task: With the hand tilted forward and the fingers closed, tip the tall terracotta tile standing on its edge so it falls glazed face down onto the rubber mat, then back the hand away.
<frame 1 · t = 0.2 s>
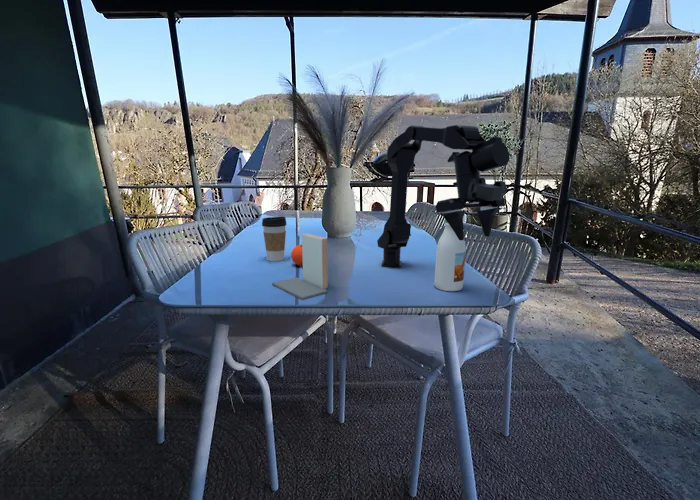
hand: (474, 238, 90), 16 cm above the table, tool pointing down, fingers open, 9 cm apart
tile: (315, 284, 103), on the table
coffee cup: (275, 259, 129), on the table
clementine: (301, 265, 122), on the table
milk bottle: (448, 288, 101), on the table
mat: (298, 288, 99), on the table
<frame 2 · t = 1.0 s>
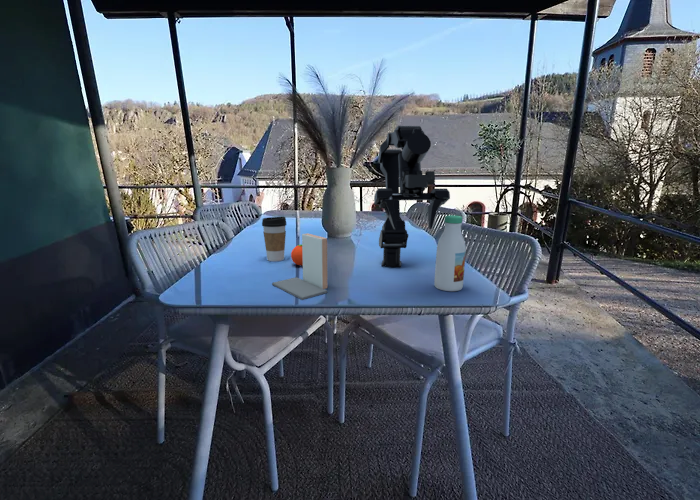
hand: (412, 229, 92), 17 cm above the table, tool tilted 25°, fingers open, 9 cm apart
nothing on the table moved.
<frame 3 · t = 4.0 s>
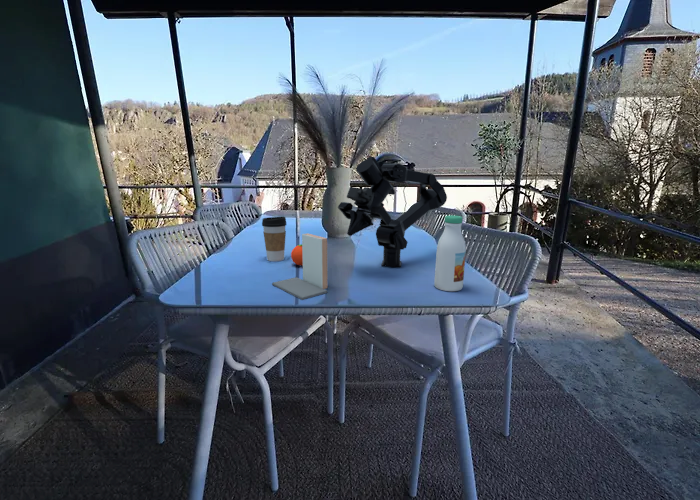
hand: (348, 235, 108), 13 cm above the table, tool tilted 45°, fingers closed
nothing on the table moved.
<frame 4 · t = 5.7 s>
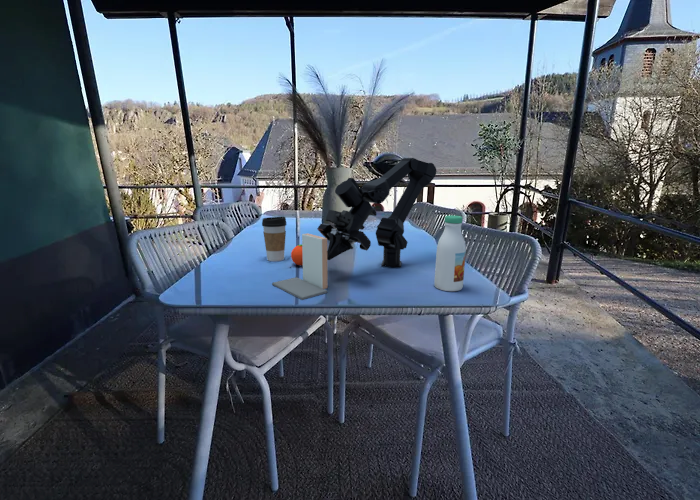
hand: (327, 259, 104), 7 cm above the table, tool tilted 45°, fingers closed
nothing on the table moved.
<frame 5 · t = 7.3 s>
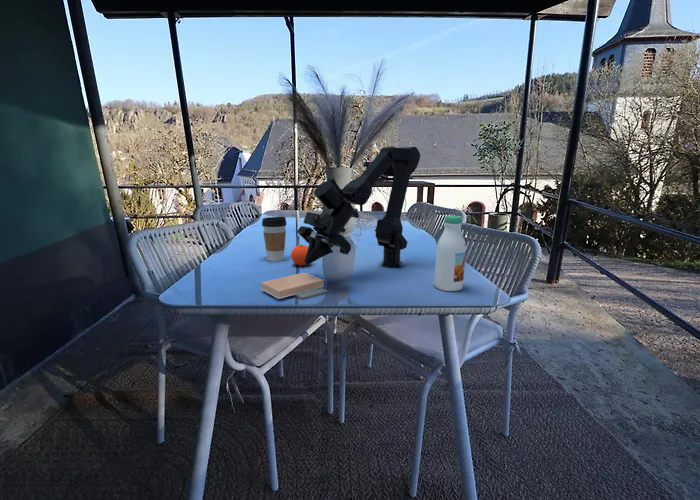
hand: (305, 263, 99), 7 cm above the table, tool tilted 45°, fingers closed
tile: (314, 279, 102), point 2 cm above the table, tilted 90°, touching mat
everything else where it was.
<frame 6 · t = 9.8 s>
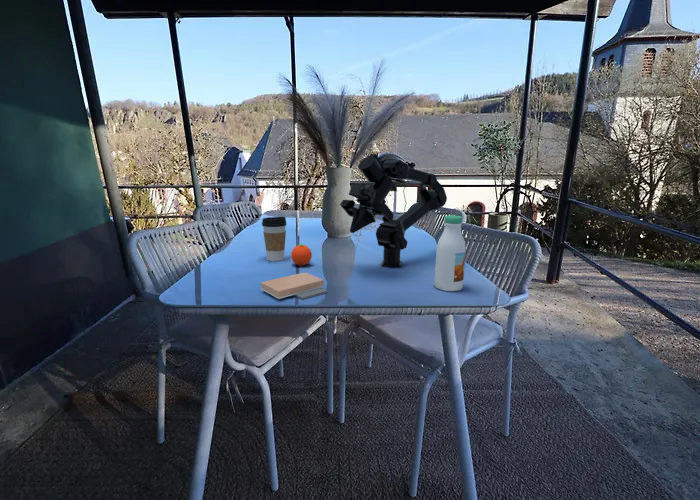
hand: (351, 232, 108), 13 cm above the table, tool tilted 45°, fingers closed
nothing on the table moved.
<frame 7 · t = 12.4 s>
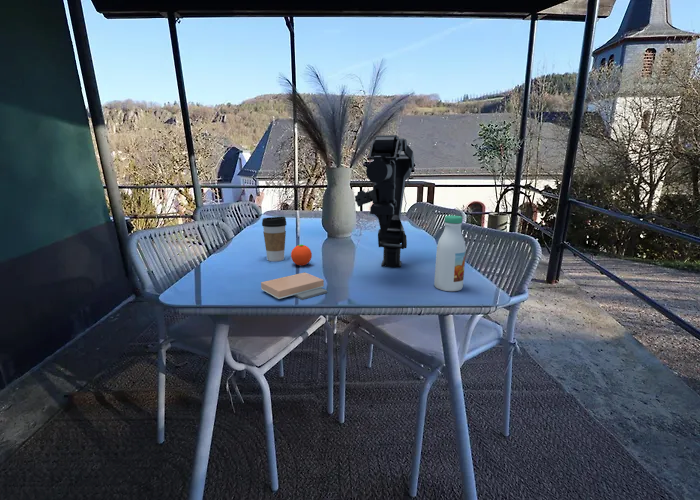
hand: (383, 234, 107), 13 cm above the table, tool pointing down, fingers closed
nothing on the table moved.
at the end: tile tilted 90°; tile touching mat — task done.
